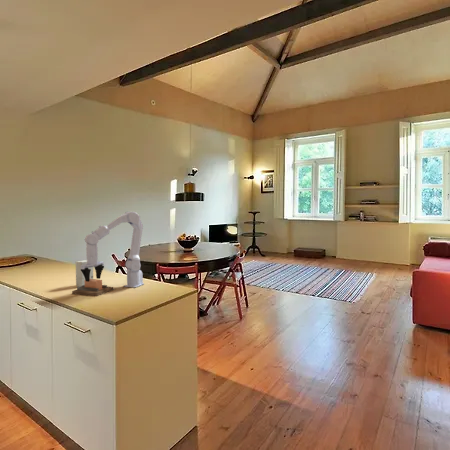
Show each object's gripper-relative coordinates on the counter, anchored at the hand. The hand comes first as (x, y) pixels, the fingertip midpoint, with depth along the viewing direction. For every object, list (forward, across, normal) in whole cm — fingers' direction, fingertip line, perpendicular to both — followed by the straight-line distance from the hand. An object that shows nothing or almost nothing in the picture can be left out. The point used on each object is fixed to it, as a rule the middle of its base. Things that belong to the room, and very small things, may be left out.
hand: (93, 279), depth 184 cm
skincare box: (+7, +9, +16) cm, 20 cm away
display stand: (+7, 0, 0) cm, 7 cm away
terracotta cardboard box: (+5, 0, 0) cm, 5 cm away
